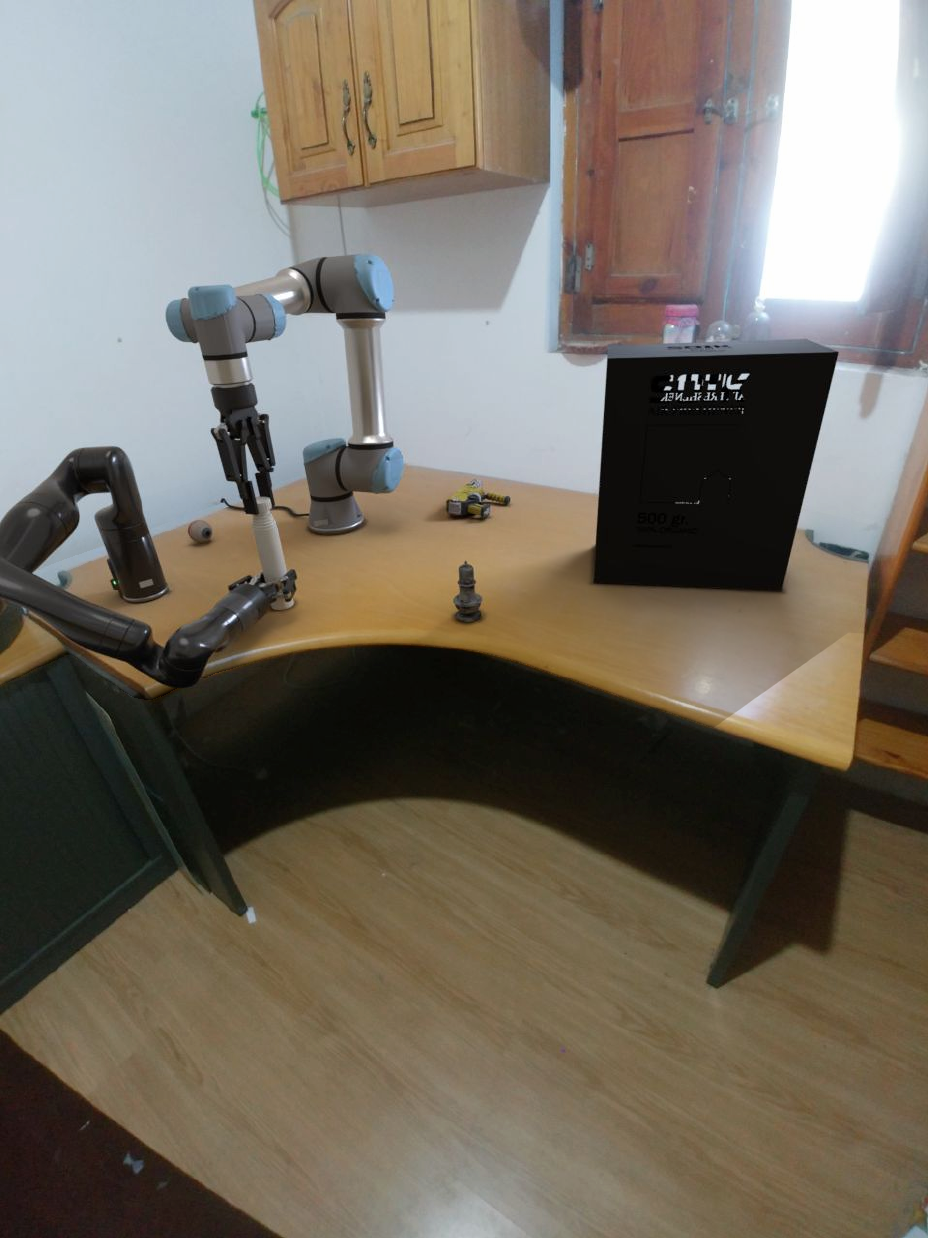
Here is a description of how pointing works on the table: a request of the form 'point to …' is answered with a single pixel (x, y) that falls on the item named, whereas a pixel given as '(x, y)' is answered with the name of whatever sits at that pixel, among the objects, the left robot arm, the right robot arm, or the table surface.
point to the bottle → (270, 552)
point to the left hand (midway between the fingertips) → (282, 572)
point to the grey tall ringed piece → (467, 595)
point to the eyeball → (200, 531)
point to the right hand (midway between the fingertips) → (260, 509)
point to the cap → (263, 504)
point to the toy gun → (473, 500)
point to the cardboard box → (707, 461)
